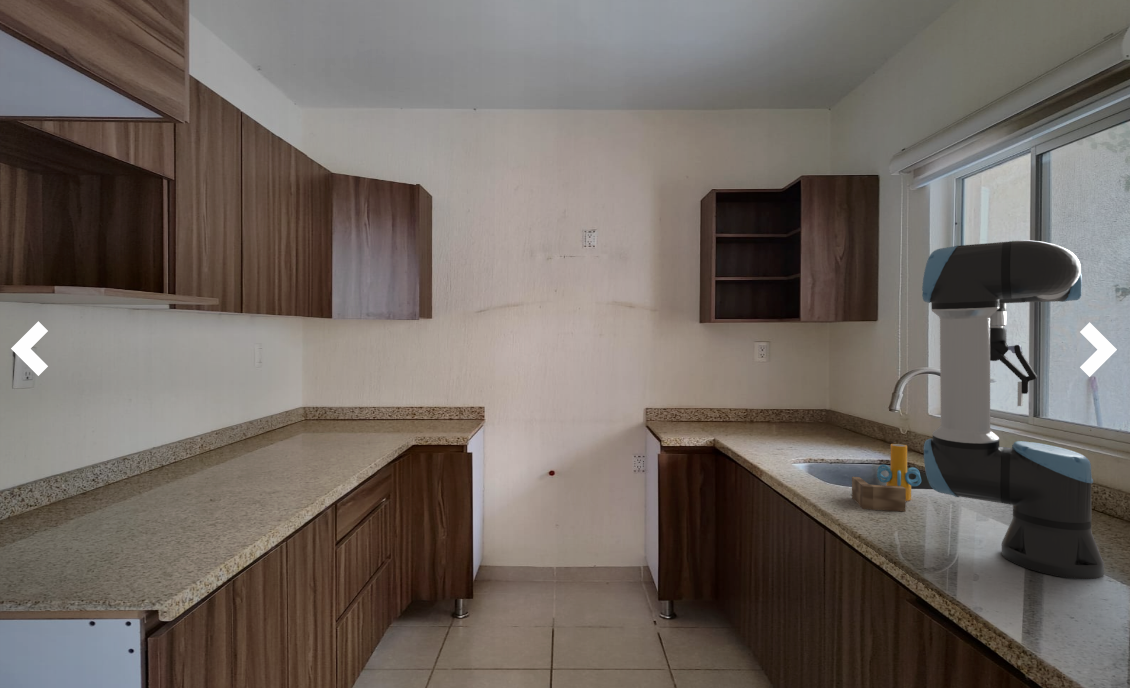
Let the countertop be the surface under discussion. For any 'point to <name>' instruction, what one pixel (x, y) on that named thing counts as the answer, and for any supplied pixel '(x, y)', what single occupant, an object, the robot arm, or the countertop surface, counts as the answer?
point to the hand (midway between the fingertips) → (988, 403)
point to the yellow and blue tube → (899, 470)
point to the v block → (878, 496)
